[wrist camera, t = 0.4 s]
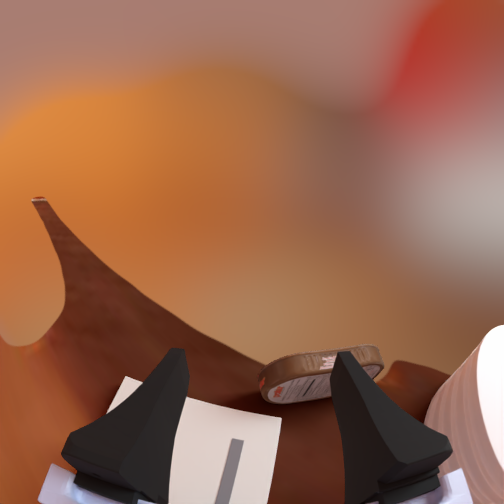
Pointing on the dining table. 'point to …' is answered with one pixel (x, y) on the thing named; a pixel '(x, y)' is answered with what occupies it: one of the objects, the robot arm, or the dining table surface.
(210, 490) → the board
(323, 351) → the tin
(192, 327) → the dining table surface
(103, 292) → the dining table surface
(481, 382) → the plate stack
